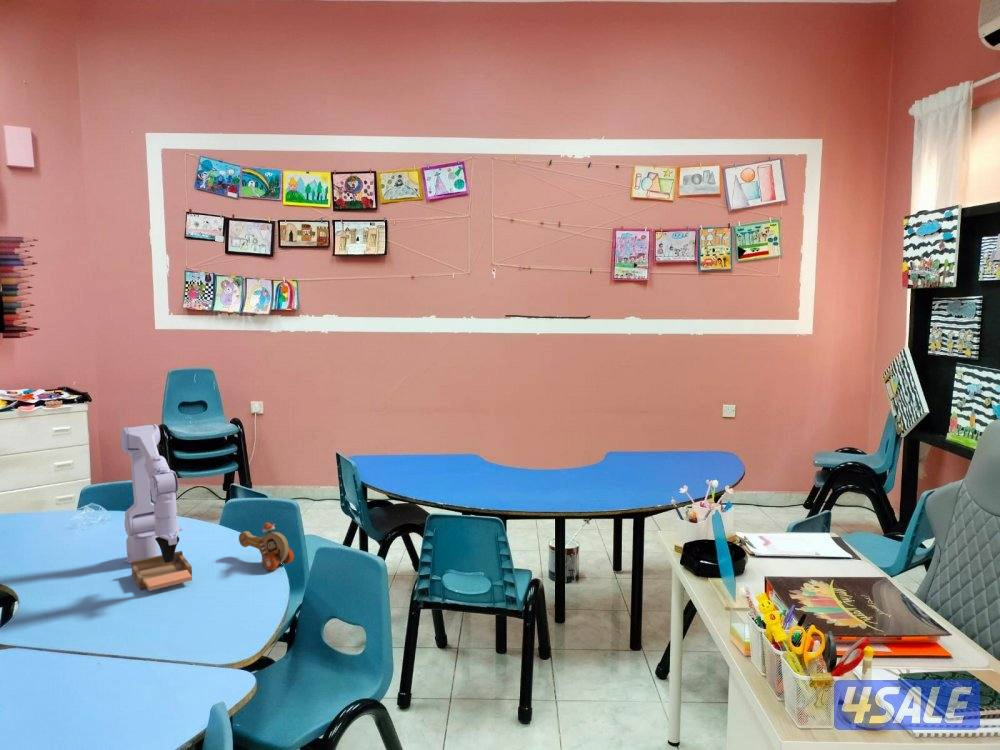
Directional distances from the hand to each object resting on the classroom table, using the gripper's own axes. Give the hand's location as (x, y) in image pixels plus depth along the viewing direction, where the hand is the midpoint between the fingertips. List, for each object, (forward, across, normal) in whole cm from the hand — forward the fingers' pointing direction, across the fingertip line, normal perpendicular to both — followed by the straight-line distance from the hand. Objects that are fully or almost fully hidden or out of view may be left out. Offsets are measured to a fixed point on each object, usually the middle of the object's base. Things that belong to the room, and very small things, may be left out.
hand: (168, 561), depth 196 cm
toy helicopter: (+9, +3, -28) cm, 30 cm away
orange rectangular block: (+7, +5, 0) cm, 8 cm away
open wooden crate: (+9, +11, 0) cm, 14 cm away
